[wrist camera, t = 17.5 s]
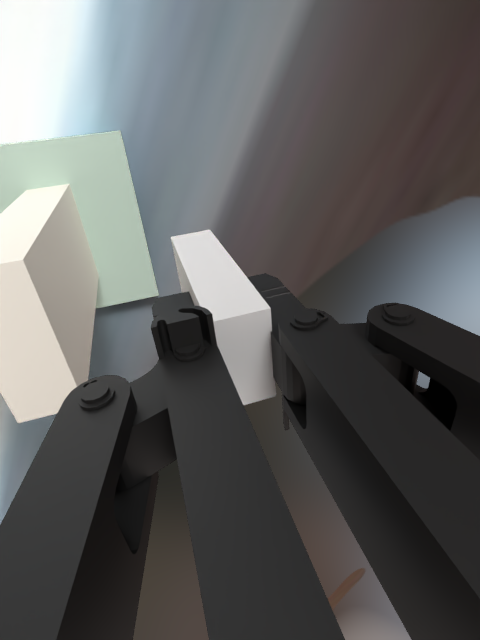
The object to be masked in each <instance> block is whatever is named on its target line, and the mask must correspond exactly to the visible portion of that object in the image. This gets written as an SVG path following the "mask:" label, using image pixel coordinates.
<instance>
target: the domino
mask: <svg viewBox="0 0 480 640" xmlns="http://www.w3.org/2000/svg"><path fill="white" fill-rule="evenodd" d="M98 279H99V274H98V271H97V268H96V265H95V262H94V259H93V255H92V252H91V249H90V246H89V243H88V240H87V237H86V233H85V230H84V227H83V224H82V221H81V218H80V215H79V212H78V208H77V205H76V202H75V199H74V196H73V193H72V190H71V187H70V184H64V185H57V186H50V187H43V188H36V189H29V190H26V191H25V192H24V193H23V194H22V195H20V196H19V197H18V198H17V199H16V200H15V201H14V202H13V203H12V204H11V205H10V206H8V207H7V208H6V209H5V210H4V211H3V212H2V213H1V214H0V393H1V395H2V396H3V398H4V400H5V402H6V403H7V405H8V407H9V408H10V410H11V412H12V414H13V415H14V417H15V419H16V421H17V422H18V423H22V422H26V421H29V420H33V419H37V418H41V417H45V416H49V415H53V414H57V413H58V411H59V409H60V407H61V405H62V403H63V401H64V400H65V398H66V397H67V396H68V395H69V393H70V392H71V391H72V390H73V389H75V388H76V387H77V386H79V385H80V384H82V383H84V382H86V381H88V376H89V366H90V357H91V347H92V337H93V328H94V318H95V308H96V299H97V289H98Z"/></svg>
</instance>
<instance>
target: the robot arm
mask: <svg viewBox="0 0 480 640" xmlns="http://www.w3.org/2000/svg"><path fill="white" fill-rule="evenodd" d="M171 241H172V246H173V251H174V256H175V261H176V266H177V271H178V276H179V280H180V285H181V290H182V293H179V294H174V295H170V296H165V297H160V298H157V299H156V301H155V303H154V304H153V306H152V312H153V317H154V320H153V321H152V325H151V330H152V334H153V338H154V342H155V345H156V349H157V353H158V356H159V360H158V363H157V364H156V365H155V367H154V368H153V369H152V370H151V371H149V372H148V373H147V374H146V375H144V376H142V377H140V378H139V379H137V380H135V381H133V382H131V383H128V381H127V380H126V379H125V378H122V377H119V376H115V375H105V376H100V377H96V378H92V379H90V380H88V381H86V382H84V383H82V384H80V385H79V386H77V387H76V388H75V389H73V390H72V391H71V392H70V393H69V395H68V396H67V397H66V398H65V400H64V401H63V403H62V405H61V407H60V409H59V411H58V413H57V415H56V417H55V419H54V421H53V423H52V425H51V427H50V429H49V431H48V433H47V435H46V437H45V439H44V441H43V443H42V444H41V446H40V448H39V450H38V452H37V454H36V456H35V458H34V460H33V462H32V464H31V466H30V468H29V470H28V472H27V474H26V476H25V478H24V480H23V482H22V484H21V486H20V488H19V490H18V491H17V493H16V495H15V497H14V499H13V501H12V503H11V505H10V507H9V509H8V511H7V513H6V515H5V517H4V519H3V521H2V523H1V525H0V640H133V635H134V628H135V622H136V616H137V609H138V603H139V597H140V590H141V585H142V578H143V572H144V566H145V560H146V553H147V547H148V540H149V534H150V528H151V522H152V515H153V509H154V503H155V497H156V490H157V484H158V477H159V476H158V471H159V470H160V469H162V468H164V467H165V466H167V465H168V464H170V463H172V462H173V461H175V460H176V459H177V461H178V467H179V473H180V479H181V484H182V489H183V495H184V501H185V506H186V512H187V518H188V523H189V529H190V534H191V541H192V546H193V552H194V557H195V563H196V569H197V574H198V580H199V585H200V591H201V597H202V603H203V608H204V614H205V619H206V625H207V631H208V636H209V640H345V639H344V636H343V634H342V632H341V629H340V627H339V625H338V623H337V620H336V618H335V615H334V613H333V611H332V609H331V606H330V604H329V602H328V599H327V597H326V595H325V592H324V590H323V588H322V586H321V583H320V581H319V579H318V576H317V574H316V572H315V569H314V567H313V565H312V562H311V560H310V558H309V555H308V554H307V551H306V549H305V546H304V544H303V542H302V539H301V537H300V535H299V533H298V530H297V528H296V526H295V523H294V521H293V519H292V516H291V514H290V512H289V509H288V507H287V505H286V502H285V500H284V498H283V496H282V493H281V491H280V489H279V486H278V484H277V482H276V479H275V477H274V475H273V472H272V470H271V468H270V466H269V463H268V461H267V459H266V457H265V454H264V452H263V449H262V447H261V445H260V443H259V440H258V438H257V436H256V433H255V431H254V429H253V427H252V424H251V422H250V419H249V417H248V415H247V413H246V410H245V408H244V406H243V405H247V404H250V403H253V402H257V401H261V400H264V399H268V398H271V397H275V396H276V384H275V381H276V382H277V384H278V386H279V387H280V389H281V391H282V405H283V423H284V428H285V430H288V429H289V419H290V421H291V423H292V425H293V426H294V428H295V430H296V432H297V434H298V435H299V437H300V439H301V441H302V443H303V444H304V446H305V448H306V449H307V452H308V453H309V455H310V457H311V459H312V461H313V462H314V464H315V466H316V468H317V470H318V471H319V473H320V475H321V477H322V479H323V481H324V482H325V484H326V486H327V488H328V489H329V491H330V493H331V495H332V496H333V498H334V500H335V502H336V504H337V506H338V508H339V509H340V511H341V513H342V515H343V516H344V518H345V520H346V522H347V524H348V526H349V527H350V529H351V531H352V533H353V534H354V536H355V538H356V540H357V542H358V543H359V545H360V547H361V549H362V551H363V553H364V554H365V556H366V558H367V560H368V562H369V563H370V565H371V567H372V568H373V571H374V572H375V574H376V576H377V578H378V580H379V582H380V583H381V585H382V587H383V589H384V591H385V592H386V594H387V596H388V598H389V600H390V601H391V603H392V605H393V607H394V609H395V610H396V612H397V614H398V616H399V618H400V619H401V621H402V623H403V625H404V627H405V628H406V630H407V632H408V634H409V636H410V637H411V639H412V640H480V336H478V335H476V334H473V333H471V332H469V331H467V330H464V329H462V328H460V327H458V326H456V325H453V324H451V323H449V322H446V321H444V320H442V319H440V318H438V317H436V316H433V315H431V314H429V313H426V312H424V311H422V310H420V309H418V308H415V307H412V306H409V305H405V304H399V303H386V304H382V305H378V306H375V307H373V308H372V309H371V310H369V312H368V315H367V323H356V324H339V323H338V322H337V321H336V320H334V318H332V316H330V315H329V314H327V313H326V312H324V311H320V310H317V309H307V308H305V307H304V306H303V305H302V304H301V303H300V302H299V301H298V300H297V298H296V297H295V296H294V295H293V294H292V293H290V291H289V290H288V289H287V288H286V287H284V285H283V284H282V283H281V282H280V281H279V280H278V278H275V277H273V276H270V275H268V274H266V273H265V274H261V275H256V276H251V277H246V276H245V274H244V273H243V272H242V270H241V269H240V268H239V267H238V265H237V264H236V263H235V261H234V260H233V259H232V258H231V256H230V255H229V254H228V252H227V251H226V250H225V249H224V247H223V246H222V245H221V243H220V242H219V241H218V239H217V238H216V237H215V236H214V234H213V233H212V232H211V230H205V231H200V232H195V233H189V234H184V235H178V236H173V237H171ZM419 371H420V372H422V373H423V374H425V375H427V376H428V377H430V382H429V387H428V389H424V388H422V387H420V386H418V385H417V384H416V382H417V378H418V372H419Z"/></svg>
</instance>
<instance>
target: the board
mask: <svg viewBox="0 0 480 640" xmlns="http://www.w3.org/2000/svg"><path fill="white" fill-rule="evenodd" d="M64 184H70V187H71V190H72V193H73V196H74V199H75V202H76V205H77V208H78V212H79V215H80V218H81V221H82V224H83V227H84V230H85V233H86V237H87V240H88V243H89V246H90V249H91V252H92V255H93V259H94V262H95V265H96V268H97V271H98V274H99V279H98V289H97V299H96V308H95V309H97V308H101V307H106V306H111V305H116V304H121V303H125V302H130V301H135V300H140V299H144V298H149V297H154V296H159V294H158V289H157V285H156V281H155V277H154V272H153V268H152V264H151V259H150V255H149V251H148V247H147V242H146V238H145V234H144V229H143V225H142V221H141V217H140V212H139V208H138V204H137V199H136V195H135V191H134V187H133V182H132V178H131V174H130V169H129V165H128V161H127V157H126V152H125V148H124V144H123V139H122V135H121V131H120V130H119V131H111V132H103V133H94V134H86V135H77V136H69V137H61V138H52V139H44V140H36V141H27V142H19V143H10V144H2V145H0V214H1V213H2V212H3V211H4V210H5V209H6V208H7V207H8V206H10V205H11V204H12V203H13V202H14V201H15V200H16V199H17V198H18V197H19V196H20V195H22V194H23V193H24V192H25V191H26V190H29V189H36V188H43V187H50V186H57V185H64Z"/></svg>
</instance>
